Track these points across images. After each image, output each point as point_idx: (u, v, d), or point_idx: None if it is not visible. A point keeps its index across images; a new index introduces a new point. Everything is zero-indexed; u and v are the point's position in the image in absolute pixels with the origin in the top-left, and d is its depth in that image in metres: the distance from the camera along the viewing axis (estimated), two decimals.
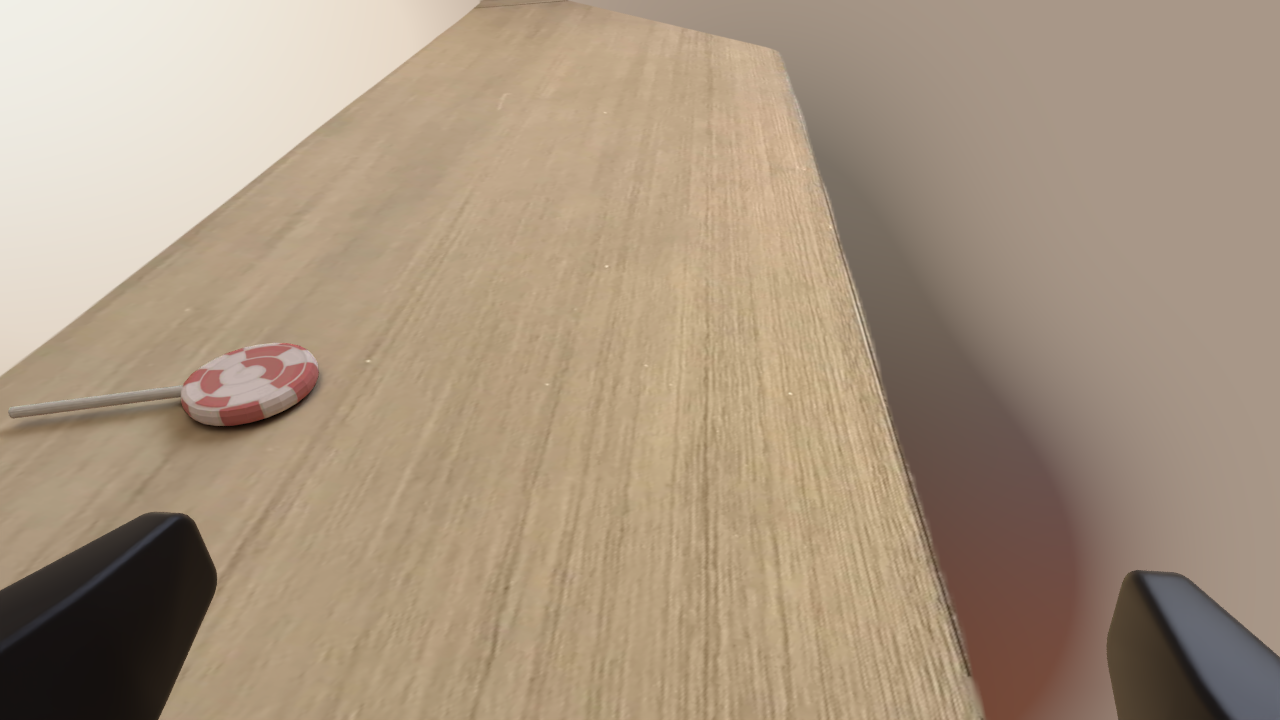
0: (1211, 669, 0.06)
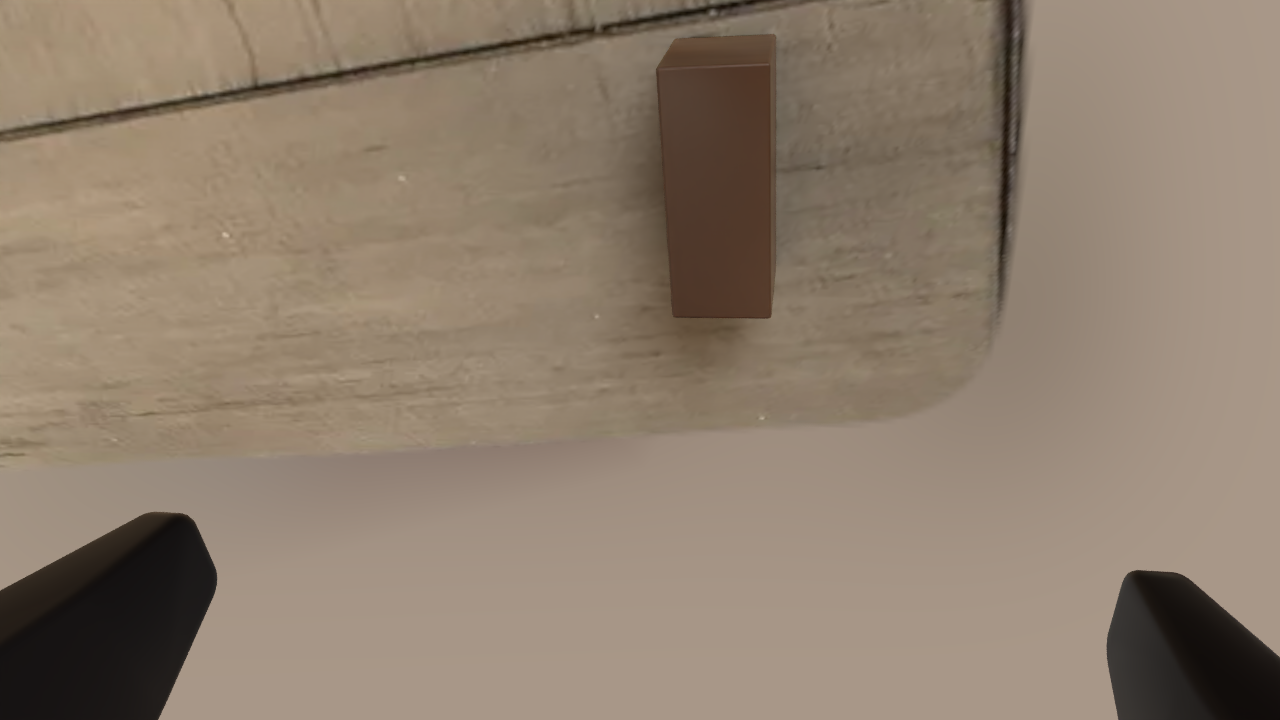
0: (1211, 669, 0.06)
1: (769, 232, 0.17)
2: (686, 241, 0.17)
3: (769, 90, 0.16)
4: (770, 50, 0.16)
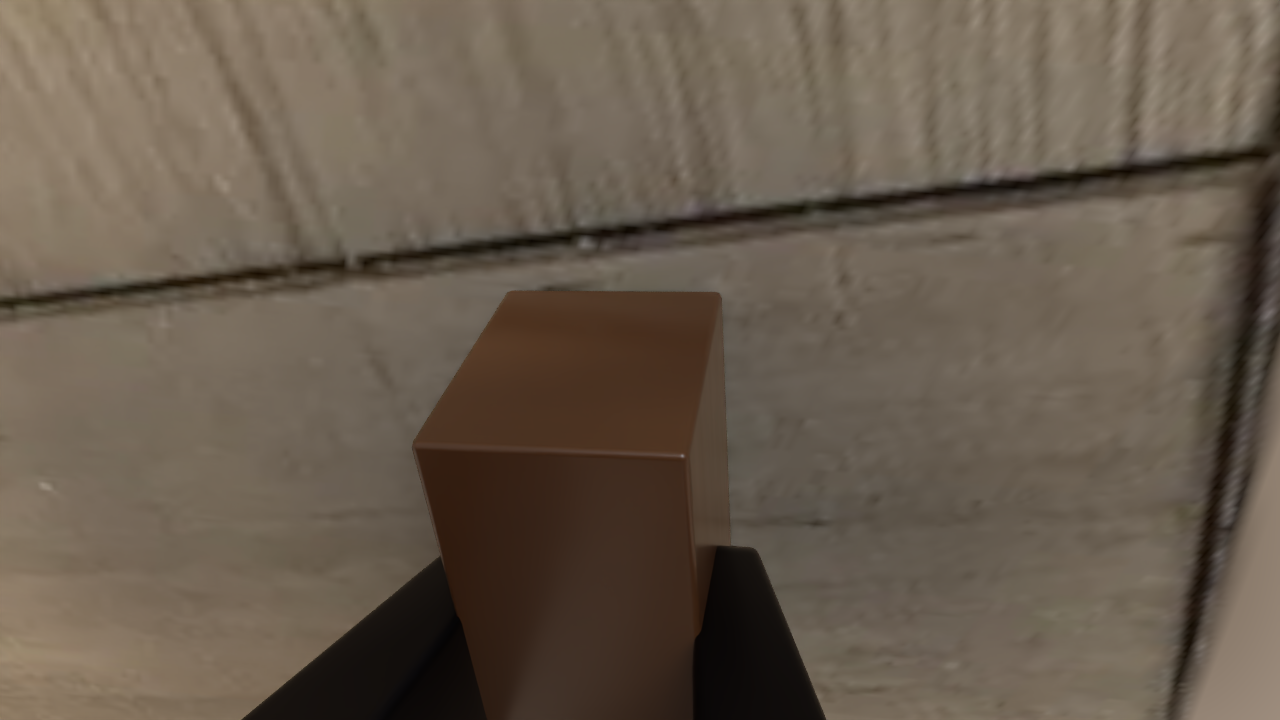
0: (715, 631, 0.07)
1: None
2: None
3: (690, 506, 0.06)
4: (698, 377, 0.07)
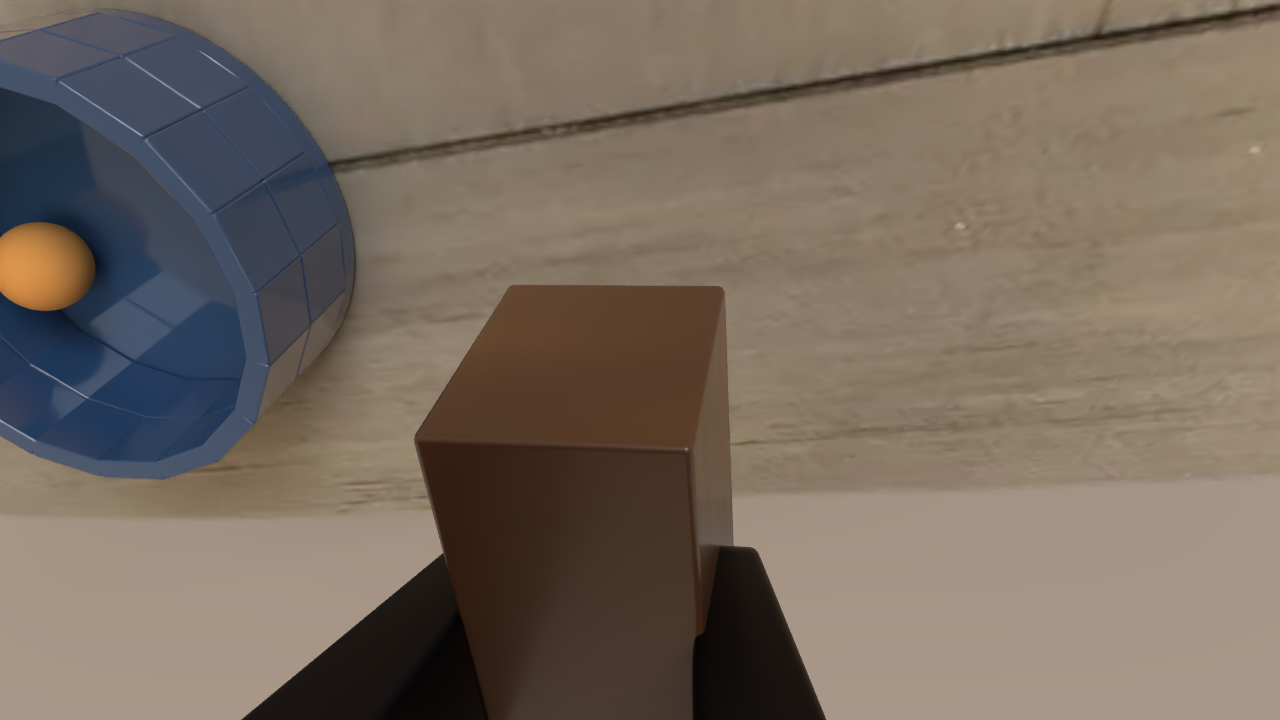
0: (715, 631, 0.07)
1: None
2: None
3: (693, 500, 0.06)
4: (702, 370, 0.07)
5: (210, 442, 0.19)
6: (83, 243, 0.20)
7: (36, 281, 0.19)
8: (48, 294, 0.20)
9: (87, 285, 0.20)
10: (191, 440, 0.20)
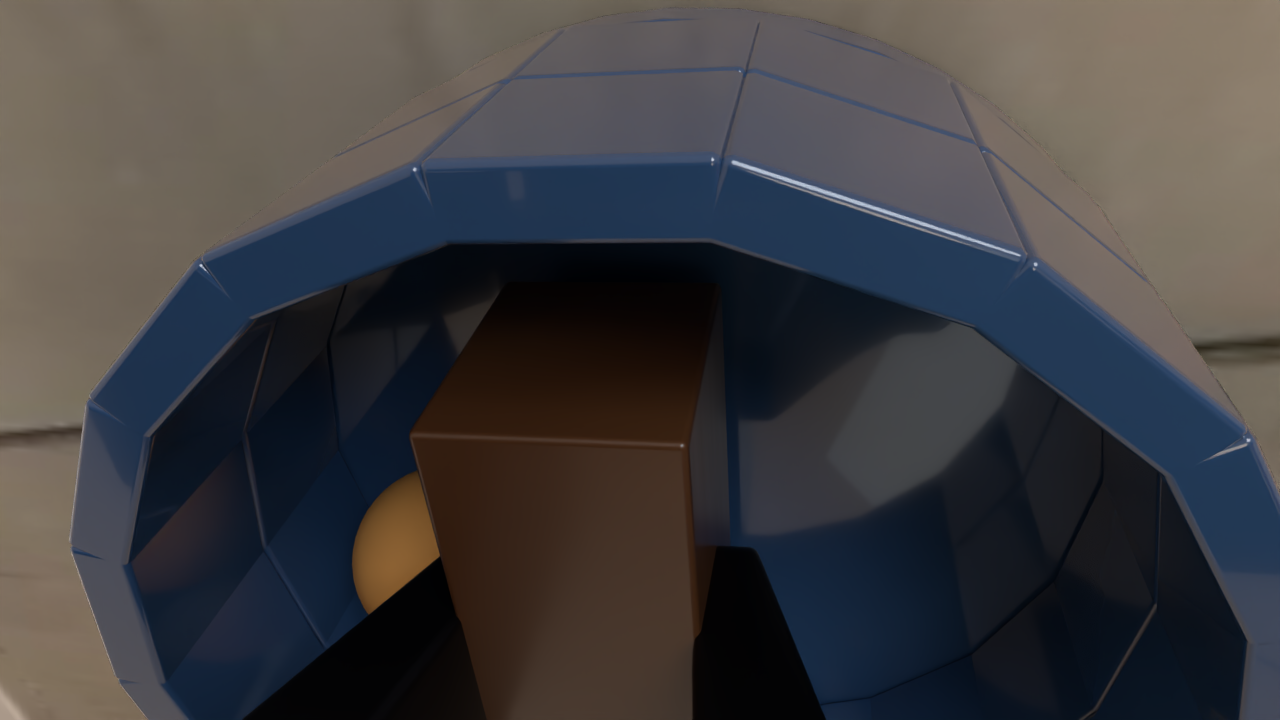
0: (715, 631, 0.07)
1: None
2: None
3: (688, 497, 0.06)
4: (698, 367, 0.07)
5: None
6: None
7: None
8: None
9: None
10: None
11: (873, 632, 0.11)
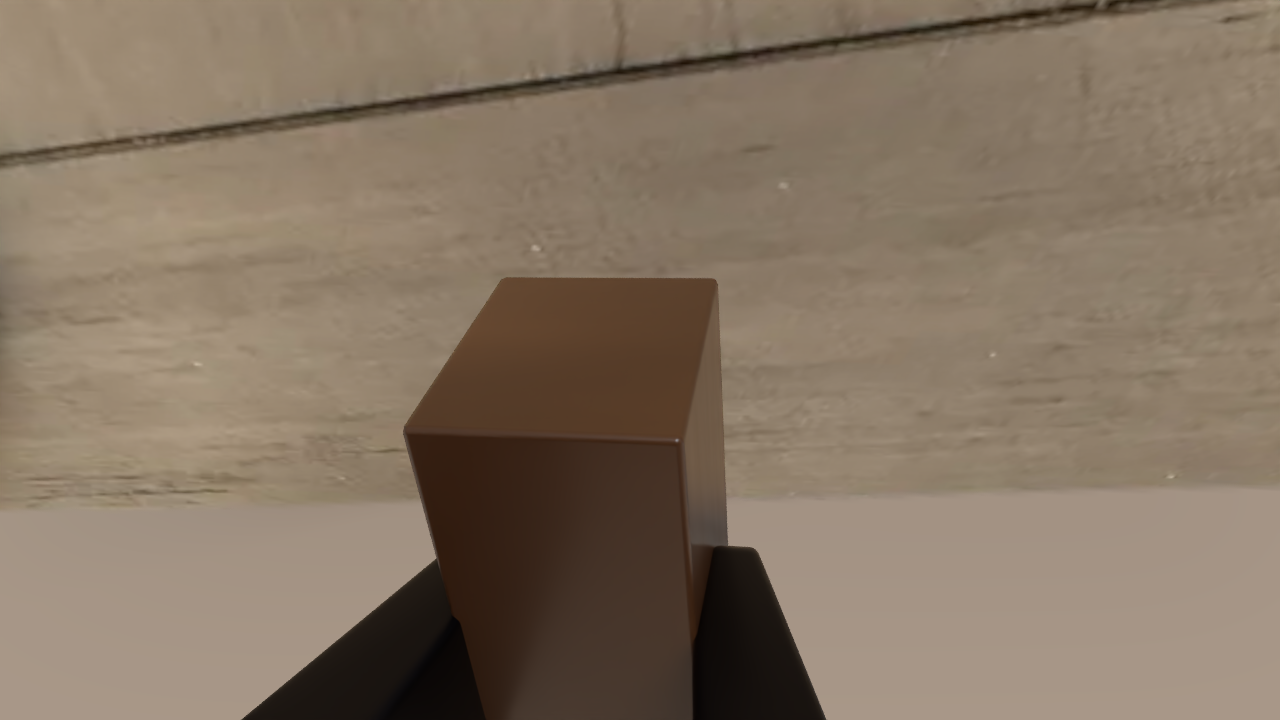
0: (715, 630, 0.07)
1: None
2: None
3: (684, 492, 0.06)
4: (694, 362, 0.07)
5: None
6: None
7: None
8: None
9: None
10: None
11: None
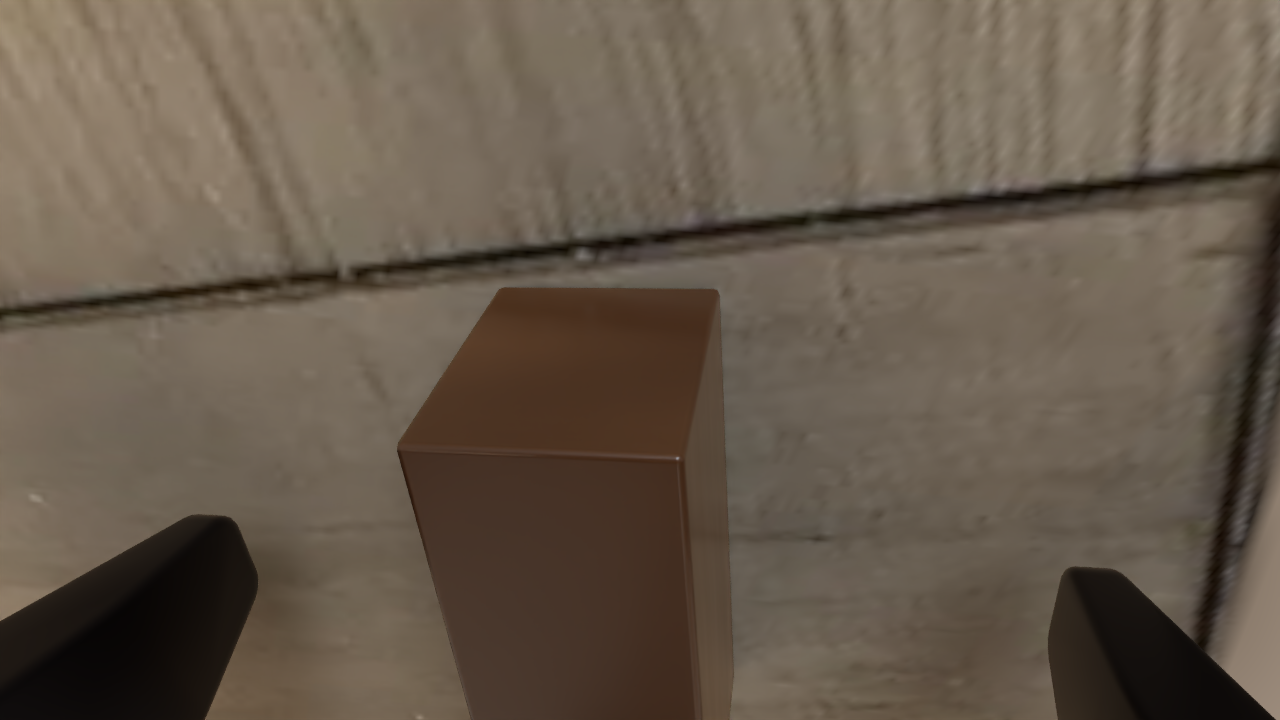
0: (1135, 663, 0.06)
1: None
2: None
3: (685, 511, 0.06)
4: (695, 376, 0.07)
5: None
6: None
7: None
8: None
9: None
10: None
11: None
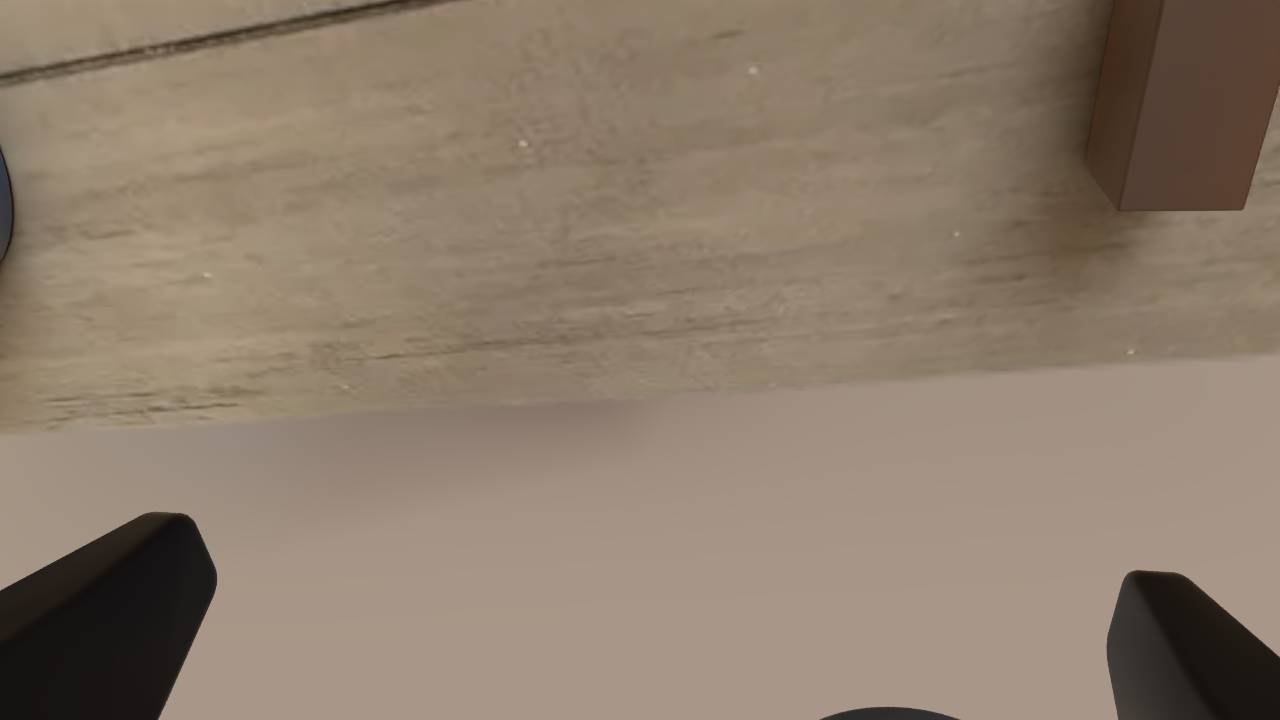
0: (1211, 669, 0.06)
1: None
2: (1162, 114, 0.15)
3: None
4: None
5: None
6: None
7: None
8: None
9: None
10: None
11: None
